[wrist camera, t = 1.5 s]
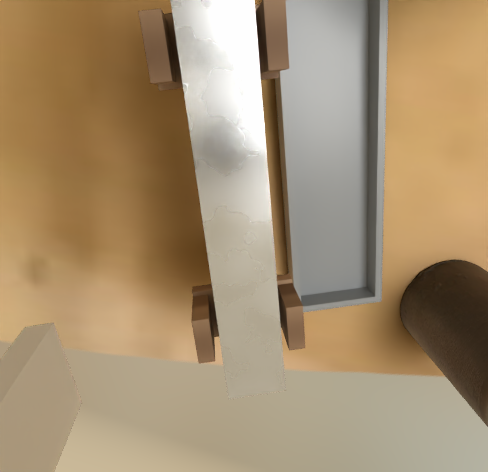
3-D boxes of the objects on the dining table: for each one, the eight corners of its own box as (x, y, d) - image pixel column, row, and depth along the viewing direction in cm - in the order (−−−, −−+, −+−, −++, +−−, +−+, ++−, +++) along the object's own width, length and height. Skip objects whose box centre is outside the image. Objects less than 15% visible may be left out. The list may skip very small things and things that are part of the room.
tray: (266, -34, 29) (272, -45, 27) (374, -44, 30) (389, -56, 27) (290, 300, 39) (295, 313, 37) (371, 288, 39) (381, 301, 37)
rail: (168, -38, 19) (161, -65, 16) (240, -45, 20) (248, -73, 16) (225, 362, 28) (228, 399, 24) (276, 354, 28) (285, 390, 25)
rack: (165, 38, 30) (136, -3, 17) (250, 30, 31) (284, -17, 18) (201, 273, 37) (199, 370, 24) (270, 264, 38) (305, 354, 25)
